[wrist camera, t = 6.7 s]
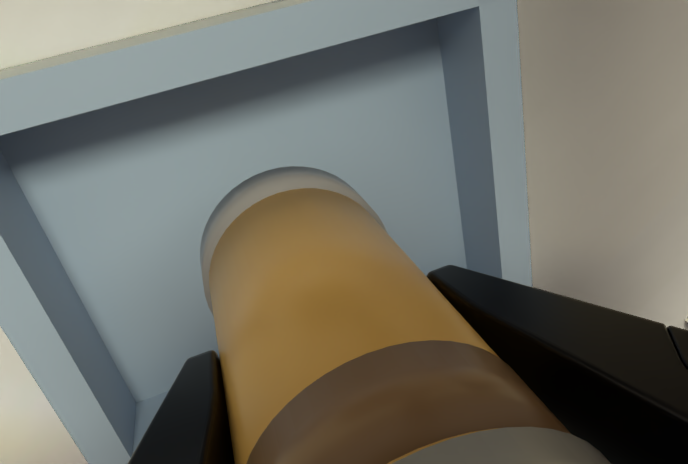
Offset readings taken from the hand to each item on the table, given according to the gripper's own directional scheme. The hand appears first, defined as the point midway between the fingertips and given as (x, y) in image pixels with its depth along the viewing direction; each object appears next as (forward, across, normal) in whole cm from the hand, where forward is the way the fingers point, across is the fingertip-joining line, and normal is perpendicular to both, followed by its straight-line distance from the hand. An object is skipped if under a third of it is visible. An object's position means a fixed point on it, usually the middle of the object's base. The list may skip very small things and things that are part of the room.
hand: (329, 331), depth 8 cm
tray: (+6, 0, 0) cm, 6 cm away
